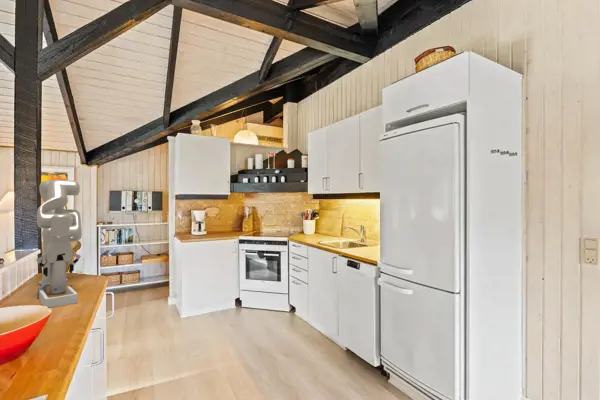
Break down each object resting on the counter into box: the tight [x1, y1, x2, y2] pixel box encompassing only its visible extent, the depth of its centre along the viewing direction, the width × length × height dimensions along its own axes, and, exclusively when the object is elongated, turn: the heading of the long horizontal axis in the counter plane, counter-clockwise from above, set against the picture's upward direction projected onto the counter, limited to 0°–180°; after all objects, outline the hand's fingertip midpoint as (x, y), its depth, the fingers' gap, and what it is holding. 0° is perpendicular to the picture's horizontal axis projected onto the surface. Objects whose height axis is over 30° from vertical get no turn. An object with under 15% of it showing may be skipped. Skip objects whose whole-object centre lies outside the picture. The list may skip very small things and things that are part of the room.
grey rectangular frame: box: [38, 283, 79, 309], centre depth 139 cm, size 18×12×4 cm
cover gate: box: [36, 283, 48, 300], centre depth 145 cm, size 1×11×5 cm, turn 28°
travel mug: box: [48, 254, 68, 296], centre depth 149 cm, size 6×7×20 cm
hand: (58, 274), depth 148 cm, fingers open, 9 cm apart
